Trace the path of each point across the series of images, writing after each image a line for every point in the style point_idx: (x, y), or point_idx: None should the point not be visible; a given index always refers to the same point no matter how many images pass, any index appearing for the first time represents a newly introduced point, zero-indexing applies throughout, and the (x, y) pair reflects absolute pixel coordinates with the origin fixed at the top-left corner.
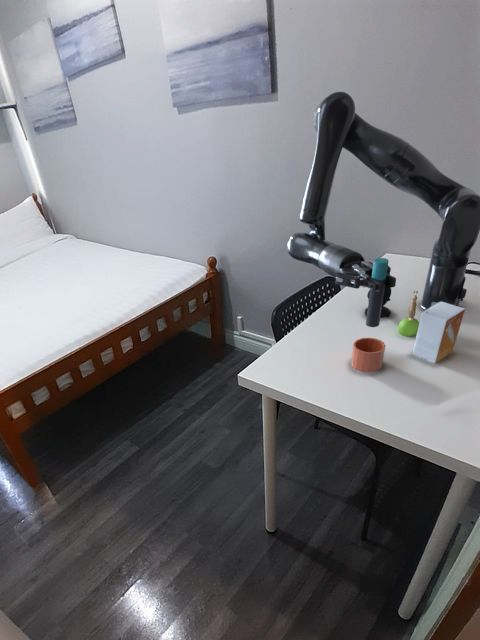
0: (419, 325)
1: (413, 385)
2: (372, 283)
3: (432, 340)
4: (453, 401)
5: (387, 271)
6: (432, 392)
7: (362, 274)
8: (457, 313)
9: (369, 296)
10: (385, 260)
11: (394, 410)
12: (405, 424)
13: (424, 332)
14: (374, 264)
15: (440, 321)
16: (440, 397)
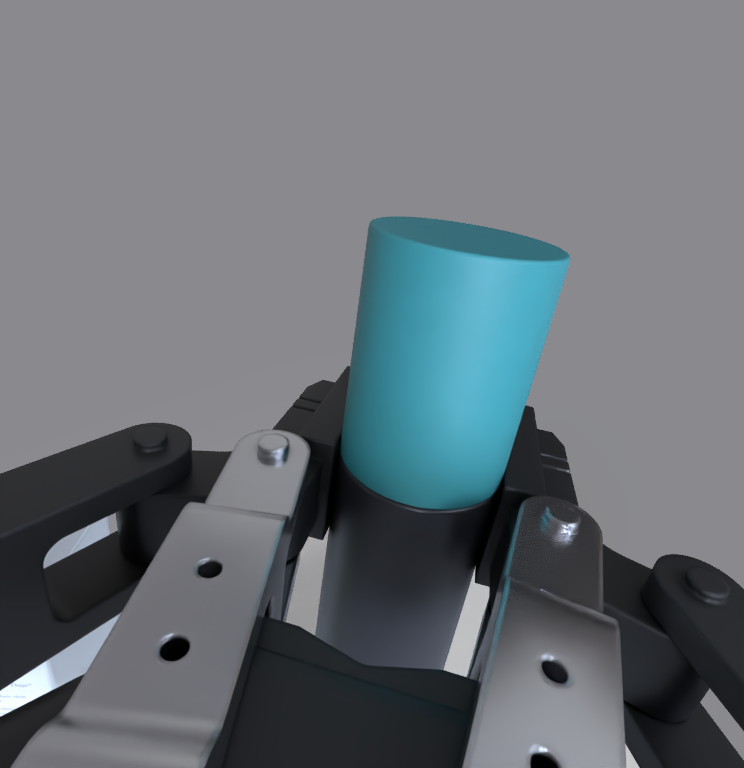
0: (51, 670)
1: None
2: (565, 454)
3: (105, 627)
4: (308, 557)
5: (189, 459)
6: (306, 608)
7: (570, 591)
8: None
9: (439, 668)
10: (430, 223)
11: (470, 642)
12: (487, 594)
13: (77, 654)
14: (558, 295)
15: (97, 531)
16: (314, 584)
